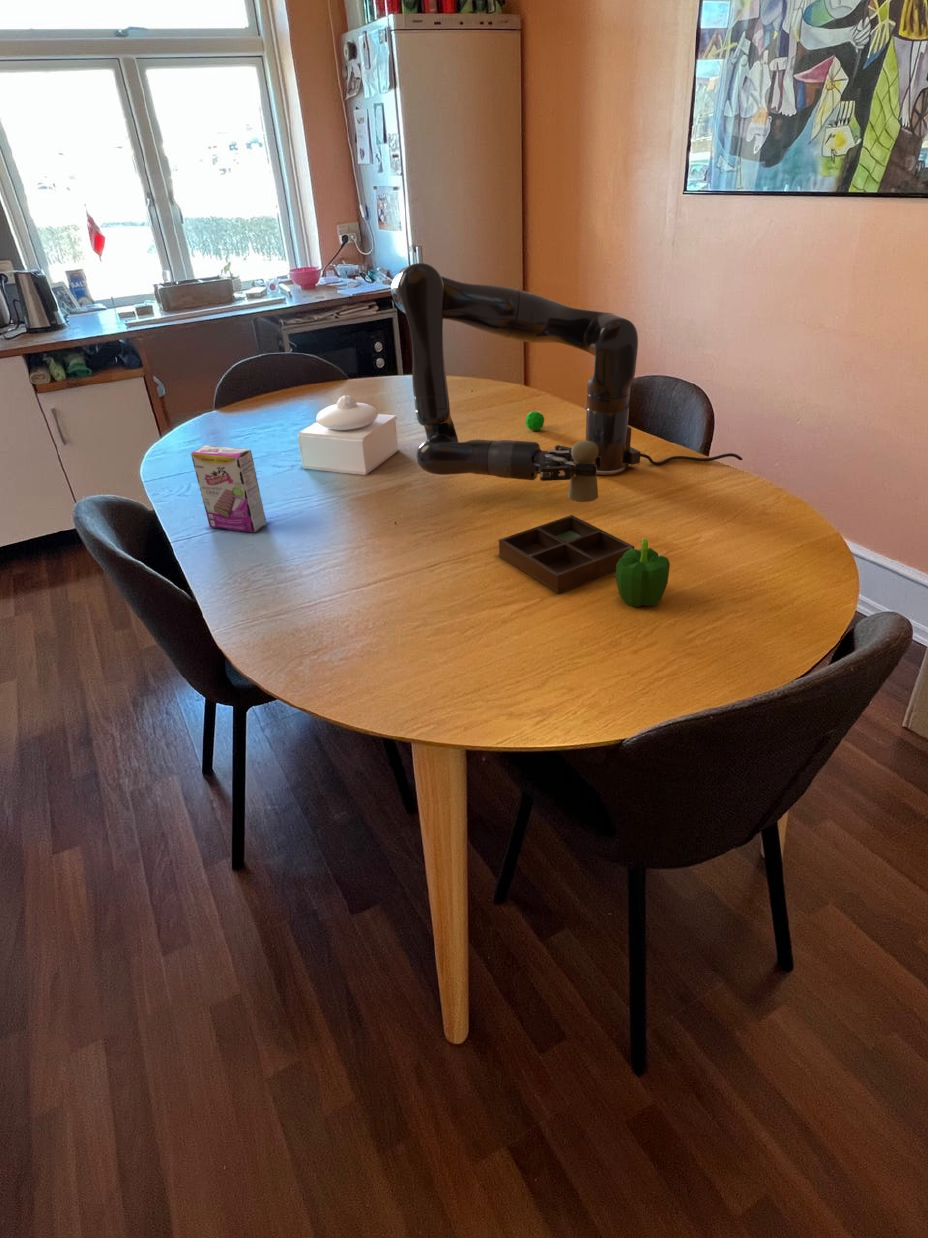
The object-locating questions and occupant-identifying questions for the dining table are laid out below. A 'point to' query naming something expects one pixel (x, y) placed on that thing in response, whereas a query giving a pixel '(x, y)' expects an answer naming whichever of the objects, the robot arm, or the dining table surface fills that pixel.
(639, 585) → the bell pepper
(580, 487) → the pawn
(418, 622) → the dining table surface
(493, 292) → the robot arm
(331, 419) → the butter dish
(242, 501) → the candy bar box
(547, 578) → the compartment tray
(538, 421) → the green pom-pom ball
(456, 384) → the dining table surface
